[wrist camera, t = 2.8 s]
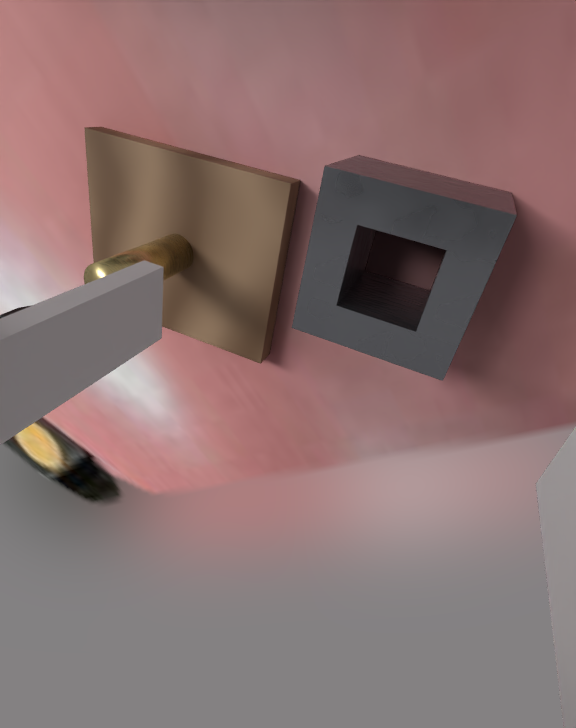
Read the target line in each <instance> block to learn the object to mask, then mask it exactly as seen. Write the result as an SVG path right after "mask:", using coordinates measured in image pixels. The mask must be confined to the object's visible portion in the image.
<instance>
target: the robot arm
mask: <svg viewBox="0 0 576 728" xmlns="http://www.w3.org/2000/svg"><path fill="white" fill-rule="evenodd" d="M163 268H164V267H162V266H159V265H156V264H154V263H151V262H148V261H145V260H144V261H141V262H139V263H136V264H134V265H131V266H129V267H126V268H124V269H121V270H119V271H116V272H114V273H112V274H109V275H107V276H104V277H102V278H99V279H97V280H94V281H92V282H89V283H87V284H84V285H82V286H79V287H77V288H74V289H72V290H70V291H67V292H65V293H62V294H60V295H57V296H55V297H52V298H50V299H47V300H45V301H42V302H40V303H37V304H35V305H32V306H27V307H21V308H17V309H14V310H12V311H9V312H7V313H4V314H2V315H0V445H1V444H2V443H4V442H5V441H7V440H8V439H10V438H11V437H13V436H14V435H16V434H17V433H19V432H20V431H22V430H23V429H25V428H27V427H28V426H30V425H31V424H33V423H34V422H36V421H37V420H39V419H40V418H42V417H43V416H45V415H46V414H48V413H49V412H51V411H52V410H54V409H55V408H57V407H58V406H60V405H61V404H63V403H64V402H66V401H67V400H69V399H70V398H72V397H73V396H75V395H76V394H78V393H79V392H81V391H83V390H84V389H86V388H87V387H89V386H90V385H92V384H93V383H95V382H96V381H98V380H99V379H101V378H102V377H104V376H105V375H107V374H108V373H110V372H111V371H113V370H114V369H116V368H117V367H119V366H120V365H122V364H123V363H125V362H126V361H128V360H129V359H131V358H132V357H134V356H135V355H137V354H139V353H140V352H142V351H143V350H145V349H146V348H148V347H149V346H151V345H152V344H154V343H155V342H157V341H158V340H160V339H161V338H162V305H163ZM536 491H537V499H538V508H539V517H540V526H541V534H542V543H543V551H544V561H545V569H546V578H547V587H548V595H549V604H550V612H551V622H552V629H553V639H554V648H555V657H556V665H557V674H558V683H559V691H560V700H561V709H562V718H563V726H564V728H576V426H575V428H574V429H573V431H572V432H571V434H570V435H569V437H568V438H567V440H566V441H565V443H564V444H563V445H562V447H561V448H560V450H559V451H558V452H557V454H556V455H555V457H554V458H553V460H552V461H551V463H550V464H549V465H548V467H547V468H546V470H545V471H544V473H543V474H542V476H541V477H540V479H539V480H538V481H537V483H536Z"/></svg>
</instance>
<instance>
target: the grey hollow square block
mask: <svg viewBox="0 0 576 728" xmlns="http://www.w3.org/2000/svg"><path fill="white" fill-rule="evenodd" d="M516 216H517V213H516V209H515V205H514V200H513V196H512V193H511V192H507V191H503V190H499V189H495V188H490V187H486V186H482V185H478V184H474V183H470V182H466V181H462V180H458V179H454V178H450V177H446V176H442V175H438V174H434V173H430V172H425V171H421V170H417V169H413V168H409V167H405V166H401V165H397V164H393V163H389V162H385V161H381V160H377V159H373V158H369V157H365V156H360V155H357V156H354V157H351V158H348V159H345V160H342V161H338V162H335V163H332V164H329V165H326V166H325V167H324V172H323V177H322V182H321V187H320V192H319V197H318V202H317V207H316V212H315V216H314V221H313V226H312V231H311V236H310V241H309V246H308V251H307V256H306V261H305V266H304V271H303V275H302V280H301V285H300V290H299V295H298V300H297V305H296V310H295V315H294V320H293V325H292V328H294V329H297V330H300V331H303V332H305V333H308V334H311V335H314V336H317V337H320V338H322V339H325V340H328V341H331V342H334V343H337V344H340V345H342V346H345V347H348V348H351V349H354V350H357V351H360V352H362V353H365V354H368V355H371V356H374V357H377V358H379V359H382V360H385V361H388V362H391V363H394V364H397V365H399V366H402V367H405V368H408V369H411V370H414V371H416V372H419V373H422V374H425V375H428V376H431V377H434V378H436V379H439V380H442V381H443V379H444V377H445V375H446V373H447V370H448V368H449V366H450V364H451V361H452V359H453V357H454V355H455V352H456V350H457V348H458V346H459V344H460V341H461V339H462V337H463V335H464V332H465V330H466V328H467V326H468V323H469V321H470V319H471V317H472V315H473V312H474V310H475V308H476V306H477V303H478V301H479V299H480V297H481V294H482V292H483V290H484V288H485V286H486V283H487V281H488V279H489V277H490V274H491V272H492V270H493V268H494V265H495V263H496V261H497V259H498V257H499V254H500V252H501V250H502V248H503V245H504V243H505V241H506V239H507V236H508V234H509V232H510V230H511V228H512V225H513V223H514V221H515V219H516ZM376 230H378V231H381V232H385V233H388V234H392V235H395V236H399V237H402V238H406V239H409V240H413V241H416V242H420V243H423V244H427V245H430V246H434V247H437V248H441V249H444V250H445V253H444V256H443V258H442V261H441V264H440V266H439V269H438V272H437V274H436V277H435V280H434V282H433V285H432V287H431V290H426V289H423V288H420V287H417V286H413V285H410V284H407V283H404V282H400V281H397V280H394V279H391V278H387V277H384V276H381V275H378V274H374V273H371V272H368V271H365V267H366V264H367V260H368V257H369V253H370V250H371V246H372V243H373V239H374V236H375V232H376Z"/></svg>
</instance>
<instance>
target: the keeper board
mask: <svg viewBox="0 0 576 728" xmlns="http://www.w3.org/2000/svg"><path fill="white" fill-rule="evenodd" d="M85 142H86V156H87V171H88V186H89V200H90V215H91V230H92V244H93V259H94V263H96V262H98V261H101V260H104V259H106V258H109V257H111V256H114V255H117V254H119V253H122V252H125V251H127V250H130V249H133V248H135V247H138V246H141V245H143V244H146V243H149V242H151V241H154V240H156V239H159V238H162V237H164V236H167V235H170V234H179V235H181V236H183V237H184V238H185V239H186V240H187V241H188V242H189V244H190V245H191V247H192V250H193V262H192V264H191V266H190V267H189V268H187V269H186V270H184V271H182V272H180V273H178V274H176V275H174V276H172V277H170V278H168V279H166V280H164V281H163V305H162V326H163V327H165V328H168V329H171V330H173V331H176V332H179V333H181V334H184V335H187V336H189V337H192V338H195V339H197V340H200V341H202V342H205V343H208V344H210V345H213V346H216V347H218V348H221V349H224V350H226V351H229V352H232V353H234V354H237V355H240V356H242V357H245V358H248V359H250V360H253V361H255V362H258V363H262V361H263V360H264V359H265V358H266V357H267V356H268V355H269V353H270V348H271V342H272V337H273V331H274V325H275V320H276V314H277V309H278V303H279V297H280V292H281V286H282V281H283V275H284V269H285V264H286V258H287V252H288V247H289V241H290V236H291V230H292V224H293V219H294V213H295V208H296V202H297V196H298V191H299V185H300V180H298V179H294V178H290V177H286V176H283V175H279V174H275V173H271V172H268V171H264V170H260V169H256V168H253V167H249V166H245V165H242V164H238V163H234V162H230V161H227V160H223V159H219V158H215V157H212V156H208V155H204V154H201V153H197V152H193V151H189V150H186V149H182V148H178V147H174V146H171V145H167V144H163V143H159V142H156V141H152V140H148V139H145V138H141V137H137V136H133V135H130V134H126V133H122V132H118V131H115V130H111V129H107V128H104V127H88V128H85Z"/></svg>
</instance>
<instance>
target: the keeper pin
mask: <svg viewBox="0 0 576 728" xmlns="http://www.w3.org/2000/svg"><path fill="white" fill-rule="evenodd" d="M144 260H145V261H148V262H151V263H154V264H156V265H159V266H162V267H164V268H163V281H164V280H166V279H168V278H170V277H172V276H174V275H176V274H178V273H180V272H182V271H184V270H186V269H187V268H189V267H190V266H191V264H192V262H193V250H192V247H191V245H190V244H189V242H188V241H187V240H186V239H185V238H184V237H183V236H181V235H179V234H170V235H167V236H164V237H162V238H159V239H156V240H154V241H151V242H149V243H146V244H143V245H141V246H138V247H135V248H133V249H130V250H127V251H125V252H122V253H119V254H117V255H114V256H111V257H109V258H106V259H104V260H101V261H98V262H96V263H93V264H91V265H89V266H88V267H87V268H86V270H85V273H84V282H85V284H87V283H89V282H92V281H94V280H97V279H99V278H102V277H104V276H107V275H109V274H112V273H114V272H116V271H119V270H121V269H124V268H126V267H129V266H131V265H134V264H136V263H139V262H141V261H144Z"/></svg>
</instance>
